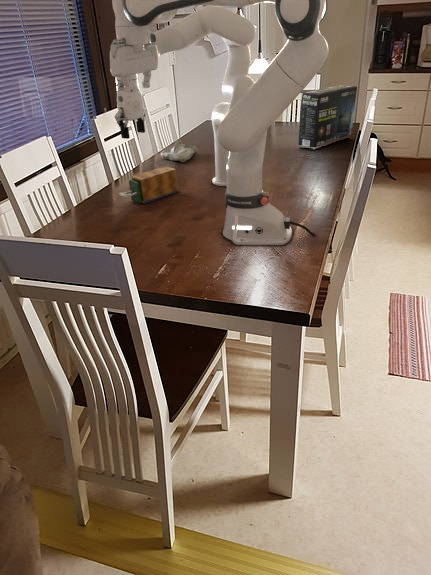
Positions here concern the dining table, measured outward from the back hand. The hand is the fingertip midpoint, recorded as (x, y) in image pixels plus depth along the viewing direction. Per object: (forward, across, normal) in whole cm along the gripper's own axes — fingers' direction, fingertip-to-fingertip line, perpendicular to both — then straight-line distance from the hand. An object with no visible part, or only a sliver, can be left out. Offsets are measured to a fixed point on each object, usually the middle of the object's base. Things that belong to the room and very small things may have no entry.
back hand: (133, 135), depth 168 cm
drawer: (+24, 0, -2) cm, 24 cm away
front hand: (-18, -18, -18) cm, 32 cm away
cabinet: (+24, +5, -4) cm, 25 cm away
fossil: (+24, +56, +16) cm, 63 cm away
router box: (+24, +108, -44) cm, 119 cm away
